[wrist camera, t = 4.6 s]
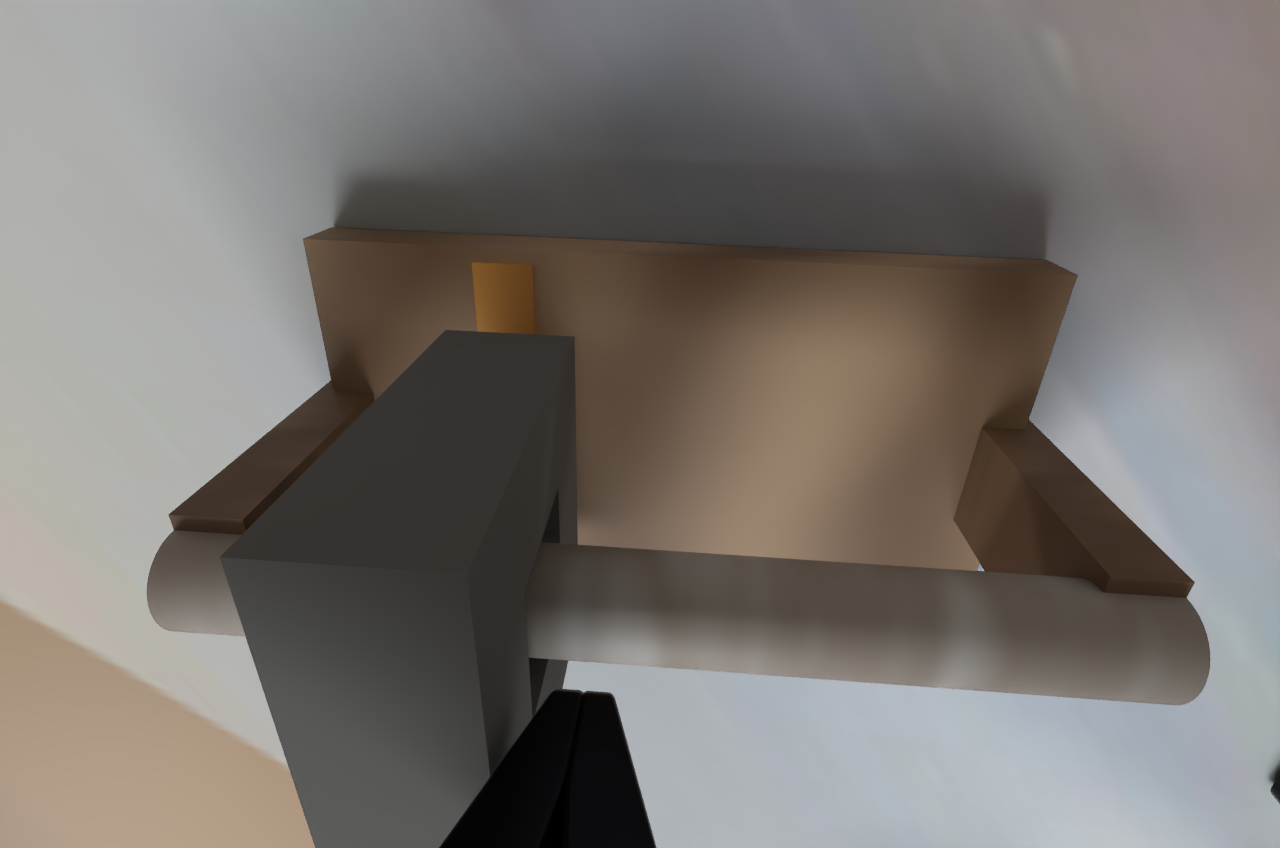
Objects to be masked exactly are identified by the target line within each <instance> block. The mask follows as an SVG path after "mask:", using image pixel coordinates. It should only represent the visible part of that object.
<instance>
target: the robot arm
mask: <svg viewBox="0 0 1280 848" xmlns="http://www.w3.org/2000/svg"><path fill="white" fill-rule="evenodd" d="M1271 793H1272V795H1273V796H1274V797H1275V798H1276V800H1277V801H1278V802H1279V803H1280V776H1279V778H1278V779H1277V780H1276V782H1275V783H1274V784H1273V786H1272V788H1271ZM439 848H656V844H655V841H654V837H653V834H652V830H651V826H650V823H649V819H648V816H647V812H646V809H645V805H644V801H643V798H642V794H641V791H640V787H639V783H638V780H637V776H636V773H635V769H634V765H633V762H632V758H631V755H630V751H629V747H628V744H627V740H626V737H625V733H624V729H623V726H622V722H621V719H620V715H619V712H618V708H617V704H616V701H615V698H614V696H613V694H611V693H608V692H595V691H586V692H584V693H583V692H582V691H580V690H568V689H555V690H554V691H552V692H551V693H550V695H549V696H548V697H547V699H546V700H545V701H544V703H543V704H542V705H541V707H540V708H539V710H538V711H537V712H536V714H535V715H534V717H533V718H532V719H531V721H530V722H529V723H528V725H527V726H526V728H525V729H524V730H523V732H522V733H521V735H520V736H519V737H518V739H517V740H516V742H515V743H514V744H513V746H512V747H511V748H510V750H509V751H508V753H507V754H506V755H505V757H504V758H503V760H502V761H501V762H500V764H499V765H498V766H497V768H496V769H495V771H494V772H493V773H492V775H491V776H490V778H489V779H488V780H487V782H486V783H485V784H484V786H483V787H482V789H481V790H480V791H479V793H478V794H477V796H476V797H475V798H474V800H473V801H472V803H471V804H470V805H469V807H468V808H467V809H466V811H465V812H464V814H463V815H462V816H461V818H460V819H459V821H458V822H457V823H456V825H455V826H454V827H453V829H452V830H451V832H450V833H449V834H448V836H447V837H446V839H445V840H444V841H443V843H442V844H441V846H440V847H439Z"/></svg>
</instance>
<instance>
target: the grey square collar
mask: <svg viewBox="0 0 1280 848" xmlns="http://www.w3.org/2000/svg"><path fill="white" fill-rule="evenodd" d="M541 542H545V543H560V544H575V545H578V529H577V462H576V395H575V337H574V336H555V335H536V334H517V333H497V332H478V331H459V330H445V331H444V332H443V333H442V334H441V335H440V336H439V337H438V338H437V339H436V340H435V341H434V342H433V343H432V344H431V345H430V346H429V347H428V348H427V349H426V350H425V351H424V352H423V353H422V354H421V355H420V356H419V357H418V358H417V359H416V360H415V361H414V362H413V363H412V364H411V365H410V366H409V367H408V368H407V369H406V370H405V371H404V372H403V373H402V374H401V375H400V376H399V377H398V378H397V379H396V380H395V381H394V382H393V383H392V384H391V385H390V386H389V387H388V388H387V389H386V390H385V391H384V392H383V393H382V394H381V395H380V396H379V397H378V398H377V399H376V400H375V401H374V402H373V403H372V404H371V405H370V406H369V407H368V408H367V409H366V410H365V411H364V412H363V413H362V414H361V415H360V416H359V417H358V418H357V419H356V420H355V421H354V422H353V423H352V424H351V425H350V426H349V427H348V428H347V429H346V430H345V431H344V433H343V434H342V435H341V436H340V437H339V438H338V439H337V440H336V441H335V442H334V443H333V444H332V445H331V446H330V447H329V448H328V449H327V450H326V451H325V452H324V453H323V454H322V455H321V456H320V457H319V458H318V459H317V460H316V461H315V462H314V463H313V464H312V465H311V466H310V467H309V468H308V469H307V470H306V471H305V472H304V473H303V474H302V475H301V476H300V477H299V478H298V479H297V480H296V481H295V482H294V483H293V484H292V485H291V486H290V487H289V488H288V489H287V490H286V491H285V492H284V493H283V494H282V495H281V496H280V497H279V498H278V499H277V500H276V501H275V502H274V503H273V504H272V505H271V506H270V507H269V508H268V509H267V510H266V511H265V512H264V513H263V514H262V515H261V516H260V517H259V518H258V519H257V520H256V521H255V522H254V523H253V524H252V525H251V526H250V527H249V528H248V529H247V530H246V531H245V532H244V533H243V534H242V535H241V536H240V537H239V538H238V539H237V540H236V541H235V542H234V543H233V544H232V545H231V546H230V547H229V548H228V549H227V550H226V551H225V552H224V553H223V554H222V555H221V556H220V560H221V563H222V566H223V569H224V572H225V575H226V578H227V582H228V585H229V588H230V591H231V594H232V597H233V600H234V603H235V606H236V609H237V612H238V615H239V618H240V621H241V624H242V627H243V630H244V633H245V636H246V639H247V642H248V645H249V648H250V651H251V654H252V657H253V660H254V663H255V666H256V669H257V672H258V675H259V678H260V681H261V684H262V687H263V691H264V694H265V697H266V700H267V703H268V706H269V709H270V712H271V715H272V718H273V721H274V724H275V727H276V730H277V733H278V736H279V739H280V742H281V745H282V748H283V751H284V754H285V757H286V760H287V763H288V766H289V769H290V772H291V775H292V778H293V781H294V784H295V787H296V790H297V793H298V796H299V799H300V803H301V806H302V808H303V812H304V815H305V818H306V820H307V824H308V827H309V830H310V833H311V836H312V838H313V842H314V845H315V848H439V847H440V846H441V844H442V843H443V841H444V840H445V839H446V837H447V836H448V834H449V833H450V832H451V830H452V829H453V827H454V826H455V825H456V823H457V822H458V821H459V819H460V818H461V816H462V815H463V814H464V812H465V811H466V809H467V808H468V807H469V805H470V804H471V803H472V801H473V800H474V798H475V797H476V796H477V794H478V793H479V791H480V790H481V789H482V787H483V786H484V784H485V783H486V782H487V780H488V779H489V778H490V776H491V775H492V773H493V772H494V771H495V769H496V768H497V766H498V765H499V764H500V762H501V761H502V760H503V758H504V757H505V755H506V754H507V753H508V751H509V750H510V748H511V747H512V746H513V744H514V743H515V742H516V740H517V739H518V737H519V736H520V735H521V733H522V732H523V730H524V729H525V728H526V726H527V725H528V723H529V722H530V721H531V719H532V718H533V717H534V715H535V714H536V712H537V711H538V710H539V708H540V707H541V705H542V704H543V703H544V701H545V700H546V699H547V697H548V696H549V695H550V693H551V692H552V691H554V690H555V689H562V687H563V683H564V678H565V673H566V668H567V663H568V660H556V659H542V658H529V655H528V639H527V623H526V608H525V589H526V586H527V583H528V580H529V577H530V574H531V571H532V568H533V565H534V562H535V559H536V555H537V552H538V549H539V546H540V543H541Z"/></svg>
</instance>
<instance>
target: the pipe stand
mask: <svg viewBox="0 0 1280 848" xmlns="http://www.w3.org/2000/svg"><path fill="white" fill-rule="evenodd" d="M303 241H304V246H305V251H306V256H307V261H308V266H309V271H310V276H311V281H312V286H313V291H314V296H315V301H316V306H317V311H318V316H319V321H320V326H321V331H322V336H323V341H324V346H325V351H326V356H327V361H328V366H329V371H330V376H331V381H330V382H329V383H327V384H326V385H325V386H324V387H323V388H321V389H320V390H319V391H318V392H317V393H315V394H314V395H313V396H312V397H311V398H309V399H308V400H307V401H306V402H304V403H303V404H302V405H301V406H300V407H298V408H297V409H296V410H295V411H294V412H292V413H291V414H290V415H289V416H287V417H286V418H285V419H284V420H283V421H281V422H280V423H279V424H278V425H277V426H275V427H274V428H273V429H272V430H271V431H269V432H268V433H267V434H266V435H264V436H263V437H262V438H261V439H260V440H258V441H257V442H256V443H255V444H254V445H252V446H251V447H250V448H249V449H248V450H246V451H245V452H244V453H243V454H241V455H240V456H239V457H238V458H237V459H235V460H234V461H233V462H232V463H231V464H229V465H228V466H227V467H226V468H225V469H223V470H222V471H221V472H220V473H218V474H217V475H216V476H215V477H214V478H212V479H211V480H210V481H209V482H208V483H206V484H205V485H204V486H203V487H201V488H200V489H199V490H198V491H197V492H195V493H194V494H193V495H192V496H191V497H189V498H188V499H187V500H186V501H185V502H183V503H182V504H181V505H180V506H178V507H177V508H176V509H175V510H174V511H172V512H171V513H170V514H169V518H170V520H171V523H172V526H173V529H174V531H173V532H172V533H171V534H170V535H169V536H168V537H167V538H166V539H165V541H164V542H163V544H162V545H161V546H160V548H159V550H158V552H157V553H156V556H155V558H154V560H153V563H152V566H151V569H150V572H149V577H148V583H147V601H148V606H149V610H150V613H151V615H152V617H153V619H154V620H155V621H156V623H157V624H158V625H159V626H160V627H162V628H164V629H166V630H169V631H177V632H190V633H204V634H217V635H231V636H244V637H246V636H245V633H244V630H243V627H242V624H241V621H240V618H239V615H238V612H237V609H236V606H235V603H234V600H233V597H232V594H231V591H230V588H229V585H228V582H227V578H226V575H225V572H224V569H223V566H222V563H221V560H220V556H221V555H222V554H223V553H224V552H225V551H226V550H227V549H228V548H229V547H230V546H231V545H232V544H233V543H234V542H235V541H236V540H237V539H238V538H239V537H240V536H241V535H242V534H243V533H244V532H245V531H246V530H247V529H248V528H249V527H250V526H251V525H252V524H253V523H254V522H255V521H256V520H257V519H258V518H259V517H260V516H261V515H262V514H263V513H264V512H265V511H266V510H267V509H268V508H269V507H270V506H271V505H272V504H273V503H274V502H275V501H276V500H277V499H278V498H279V497H280V496H281V495H282V494H283V493H284V492H285V491H286V490H287V489H288V488H289V487H290V486H291V485H292V484H293V483H294V482H295V481H296V480H297V479H298V478H299V477H300V476H301V475H302V474H303V473H304V472H305V471H306V470H307V469H308V468H309V467H310V466H311V465H312V464H313V463H314V462H315V461H316V460H317V459H318V458H319V457H320V456H321V455H322V454H323V453H324V452H325V451H326V450H327V449H328V448H329V447H330V446H331V445H332V444H333V443H334V442H335V441H336V440H337V439H338V438H339V437H340V436H341V435H342V434H343V433H344V431H345V430H346V429H347V428H348V427H349V426H350V425H351V424H352V423H353V422H354V421H355V420H356V419H357V418H358V417H359V416H360V415H361V414H362V413H363V412H364V411H365V410H366V409H367V408H368V407H369V406H370V405H371V404H372V403H373V402H374V401H375V400H376V399H377V398H378V397H379V396H380V395H381V394H382V393H383V392H384V391H385V390H386V389H387V388H388V387H389V386H390V385H391V384H392V383H393V382H394V381H395V380H396V379H397V378H398V377H399V376H400V375H401V374H402V373H403V372H404V371H405V370H406V369H407V368H408V367H409V366H410V365H411V364H412V363H413V362H414V361H415V360H416V359H417V358H418V357H419V356H420V355H421V354H422V353H423V352H424V351H425V350H426V349H427V348H428V347H429V346H430V345H431V344H432V343H433V342H434V341H435V340H436V339H437V338H438V337H439V336H440V335H441V334H442V333H443V332H444V331H445V330H459V331H478V332H497V333H517V334H536V335H555V336H574V337H575V395H576V462H577V529H578V545H575V544H560V543H545V542H541V543H540V546H539V549H538V552H537V555H536V559H535V562H534V565H533V568H532V571H531V574H530V577H529V580H528V583H527V586H526V589H525V608H526V623H527V639H528V655H529V658H542V659H556V660H569V661H583V662H597V663H610V664H624V665H637V666H651V667H664V668H678V669H691V670H705V671H718V672H732V673H746V674H759V675H773V676H786V677H800V678H813V679H827V680H840V681H854V682H867V683H881V684H895V685H908V686H922V687H935V688H949V689H962V690H976V691H989V692H1003V693H1016V694H1030V695H1044V696H1057V697H1071V698H1084V699H1098V700H1111V701H1125V702H1138V703H1152V704H1165V705H1183V704H1186V703H1189V702H1191V701H1192V700H1194V699H1195V698H1196V697H1197V696H1198V695H1199V694H1200V693H1201V691H1202V690H1203V688H1204V686H1205V684H1206V681H1207V678H1208V674H1209V669H1210V649H1209V642H1208V638H1207V634H1206V631H1205V628H1204V625H1203V623H1202V621H1201V619H1200V617H1199V615H1198V613H1197V611H1196V610H1195V608H1194V607H1193V606H1192V604H1191V603H1190V602H1189V601H1188V599H1187V596H1188V594H1189V592H1190V590H1191V588H1192V586H1193V585H1194V583H1195V582H1194V581H1193V580H1192V579H1191V578H1190V577H1189V576H1188V575H1187V574H1186V573H1185V572H1184V571H1183V570H1182V569H1180V568H1179V567H1178V566H1177V565H1176V564H1175V563H1174V562H1173V561H1172V560H1171V559H1170V558H1169V557H1168V556H1167V555H1166V554H1165V553H1164V552H1163V551H1162V550H1161V549H1160V548H1159V547H1158V546H1157V545H1156V544H1155V543H1154V542H1153V541H1152V540H1151V539H1150V538H1149V537H1148V536H1147V535H1146V534H1145V533H1144V532H1143V531H1142V530H1141V529H1140V528H1139V527H1138V526H1137V525H1136V524H1135V523H1134V522H1133V521H1132V520H1130V519H1129V518H1128V517H1127V516H1126V515H1125V514H1124V513H1123V512H1122V511H1121V510H1120V509H1119V508H1118V507H1117V506H1116V505H1115V504H1114V503H1113V502H1112V501H1111V500H1110V499H1109V498H1108V497H1107V496H1106V495H1105V494H1104V493H1103V492H1102V491H1101V490H1100V489H1099V488H1098V487H1097V486H1096V485H1095V484H1094V483H1093V482H1092V481H1091V480H1090V479H1089V478H1088V477H1087V476H1086V475H1085V474H1084V473H1083V472H1082V471H1080V470H1079V469H1078V468H1077V467H1076V466H1075V465H1074V464H1073V463H1072V462H1071V461H1070V460H1069V459H1068V458H1067V457H1066V456H1065V455H1064V454H1063V453H1062V452H1061V451H1060V450H1059V449H1058V448H1057V447H1056V446H1055V445H1054V444H1053V443H1052V442H1051V441H1050V440H1049V439H1048V438H1047V437H1046V436H1045V435H1044V434H1043V433H1042V432H1041V431H1040V430H1039V429H1038V428H1037V427H1036V426H1035V425H1034V424H1033V423H1032V422H1030V421H1029V420H1028V419H1029V416H1030V414H1031V411H1032V408H1033V405H1034V402H1035V399H1036V396H1037V393H1038V390H1039V387H1040V384H1041V381H1042V378H1043V375H1044V372H1045V369H1046V366H1047V364H1048V361H1049V358H1050V355H1051V352H1052V349H1053V346H1054V343H1055V340H1056V337H1057V334H1058V331H1059V328H1060V325H1061V322H1062V319H1063V317H1064V314H1065V311H1066V308H1067V305H1068V302H1069V299H1070V296H1071V293H1072V290H1073V287H1074V284H1075V281H1076V278H1077V275H1076V274H1074V273H1072V272H1070V271H1068V270H1066V269H1064V268H1062V267H1060V266H1058V265H1056V264H1054V263H1052V262H1050V261H1048V260H1032V259H1011V258H989V257H967V256H945V255H923V254H902V253H880V252H858V251H836V250H814V249H793V248H771V247H749V246H727V245H705V244H684V243H662V242H640V241H618V240H596V239H575V238H553V237H531V236H509V235H488V234H466V233H444V232H422V231H400V230H379V229H357V228H335V227H332V228H329V229H327V230H324V231H322V232H319V233H317V234H314V235H312V236H309V237H307V238H304V239H303ZM979 563H980V564H981V566H982V567H983V569H984V571H985V572H984V571H977V569H978V566H979Z"/></svg>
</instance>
